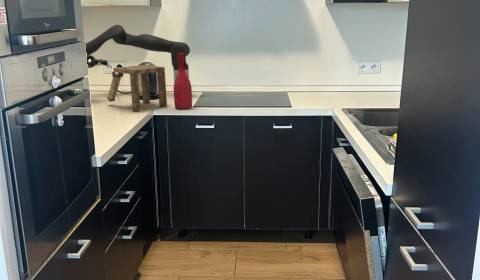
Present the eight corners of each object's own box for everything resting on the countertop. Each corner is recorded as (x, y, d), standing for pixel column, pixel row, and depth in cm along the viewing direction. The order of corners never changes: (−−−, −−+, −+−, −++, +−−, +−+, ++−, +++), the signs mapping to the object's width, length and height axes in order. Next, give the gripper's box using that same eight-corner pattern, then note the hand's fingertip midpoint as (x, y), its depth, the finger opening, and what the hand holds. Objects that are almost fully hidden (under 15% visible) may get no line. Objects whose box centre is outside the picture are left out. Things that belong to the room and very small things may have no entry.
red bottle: (196, 107, 264) (193, 52, 256) (185, 110, 256) (182, 53, 248) (181, 105, 269) (179, 51, 261) (170, 108, 261) (167, 53, 253)
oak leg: (112, 97, 276) (119, 72, 265) (114, 100, 275) (121, 75, 263) (107, 98, 274) (114, 72, 263) (109, 101, 273) (116, 76, 261)
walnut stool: (147, 102, 281) (144, 64, 276) (167, 106, 267) (164, 67, 261) (114, 107, 267) (111, 68, 262) (133, 112, 253) (130, 70, 247)
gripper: (74, 54, 278) (89, 58, 267) (96, 53, 288) (111, 57, 277) (75, 67, 280) (89, 72, 269) (96, 66, 290) (111, 70, 280)
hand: (100, 64), depth 273 cm, fingers open, 8 cm apart
